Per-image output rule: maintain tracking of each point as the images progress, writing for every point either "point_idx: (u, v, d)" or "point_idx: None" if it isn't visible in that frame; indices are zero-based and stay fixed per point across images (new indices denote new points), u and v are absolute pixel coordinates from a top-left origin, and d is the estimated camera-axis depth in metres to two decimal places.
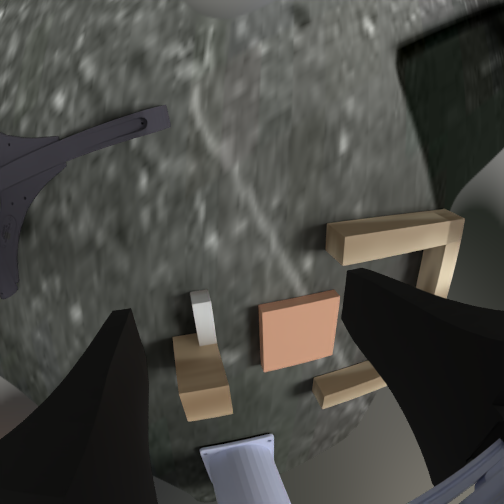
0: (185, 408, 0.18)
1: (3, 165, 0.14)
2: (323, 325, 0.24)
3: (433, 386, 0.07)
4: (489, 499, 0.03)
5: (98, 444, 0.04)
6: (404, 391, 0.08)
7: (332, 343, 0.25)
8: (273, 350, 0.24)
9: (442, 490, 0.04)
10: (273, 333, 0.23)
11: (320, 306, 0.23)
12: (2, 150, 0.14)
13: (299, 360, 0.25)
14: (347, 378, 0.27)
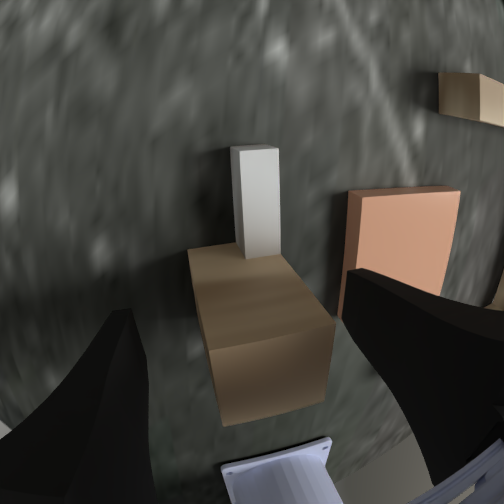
0: (221, 394, 0.07)
1: None
2: (438, 241, 0.13)
3: (433, 386, 0.07)
4: (489, 499, 0.03)
5: (98, 444, 0.04)
6: (404, 391, 0.08)
7: (442, 277, 0.15)
8: None
9: (442, 490, 0.04)
10: (374, 245, 0.12)
11: (439, 203, 0.12)
12: None
13: None
14: None
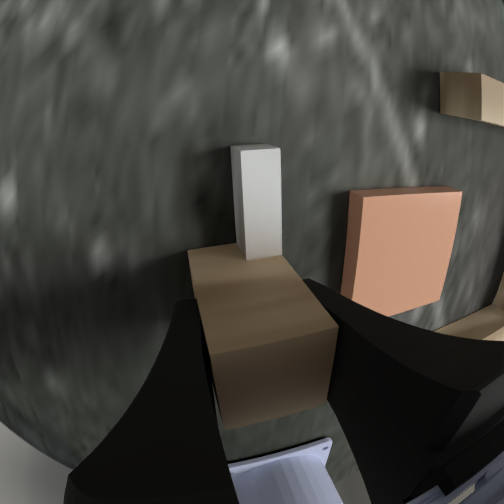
0: (222, 397, 0.07)
1: None
2: (439, 242, 0.13)
3: (369, 416, 0.06)
4: (489, 499, 0.03)
5: None
6: (345, 415, 0.08)
7: (443, 278, 0.14)
8: (369, 282, 0.13)
9: (442, 490, 0.04)
10: (375, 245, 0.12)
11: (440, 203, 0.12)
12: None
13: (400, 306, 0.14)
14: None
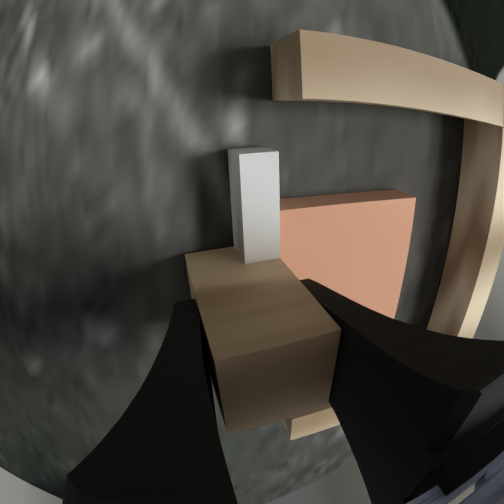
0: (226, 402, 0.07)
1: None
2: (387, 256, 0.12)
3: (369, 416, 0.06)
4: (489, 499, 0.03)
5: None
6: (345, 415, 0.08)
7: (397, 296, 0.14)
8: None
9: (442, 490, 0.04)
10: (298, 264, 0.11)
11: (385, 213, 0.11)
12: None
13: None
14: None
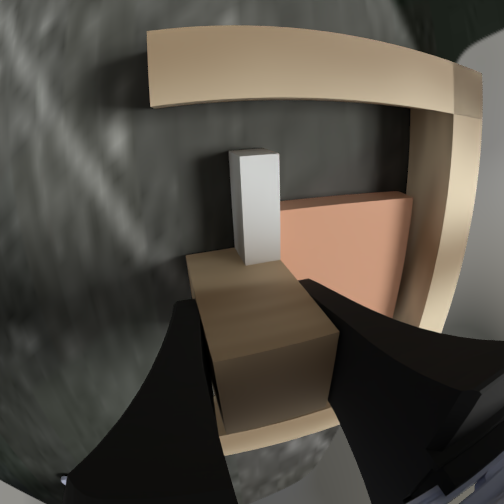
0: (224, 403, 0.07)
1: None
2: (385, 256, 0.13)
3: (369, 416, 0.06)
4: (489, 499, 0.03)
5: None
6: (345, 415, 0.08)
7: (395, 295, 0.14)
8: None
9: (442, 490, 0.04)
10: (296, 264, 0.12)
11: (383, 212, 0.12)
12: None
13: None
14: None
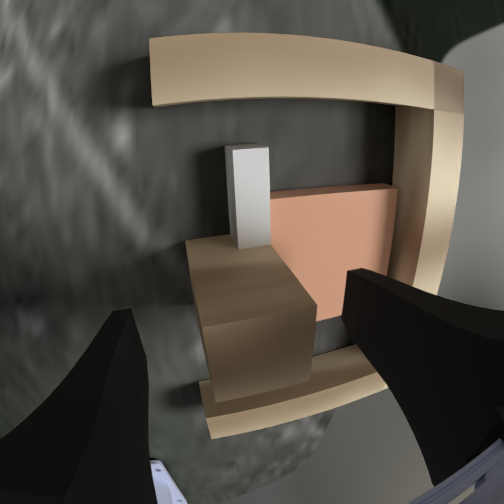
0: (213, 369, 0.08)
1: None
2: (371, 243, 0.14)
3: (433, 386, 0.07)
4: (489, 499, 0.03)
5: (98, 444, 0.04)
6: (404, 391, 0.08)
7: None
8: None
9: (442, 490, 0.04)
10: (287, 249, 0.13)
11: (368, 202, 0.13)
12: None
13: (330, 311, 0.15)
14: None
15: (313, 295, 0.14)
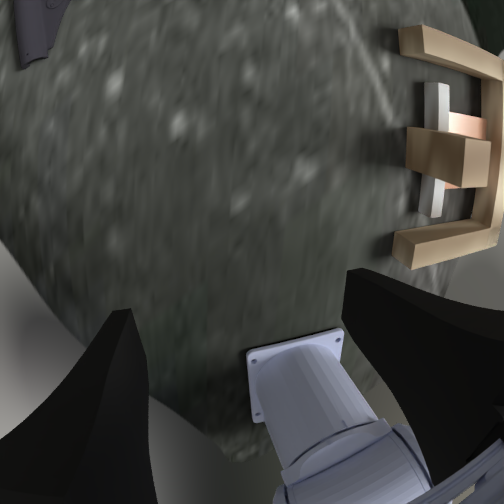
0: (464, 163, 0.15)
1: None
2: None
3: (433, 386, 0.07)
4: (489, 499, 0.03)
5: (98, 444, 0.04)
6: (404, 391, 0.08)
7: None
8: None
9: (442, 490, 0.04)
10: None
11: (477, 123, 0.19)
12: None
13: None
14: (431, 233, 0.22)
15: None
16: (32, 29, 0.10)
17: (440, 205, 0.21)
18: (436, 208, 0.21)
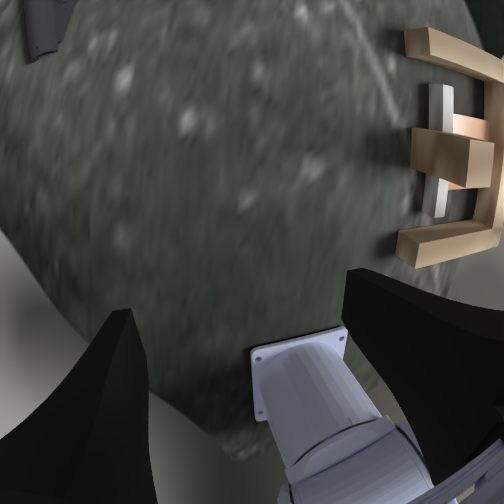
0: (469, 164, 0.15)
1: None
2: None
3: (433, 386, 0.07)
4: (489, 499, 0.03)
5: (98, 444, 0.04)
6: (404, 391, 0.08)
7: None
8: None
9: (442, 490, 0.04)
10: None
11: (480, 125, 0.20)
12: None
13: None
14: (435, 232, 0.22)
15: None
16: (42, 23, 0.10)
17: (443, 205, 0.21)
18: (440, 208, 0.21)
